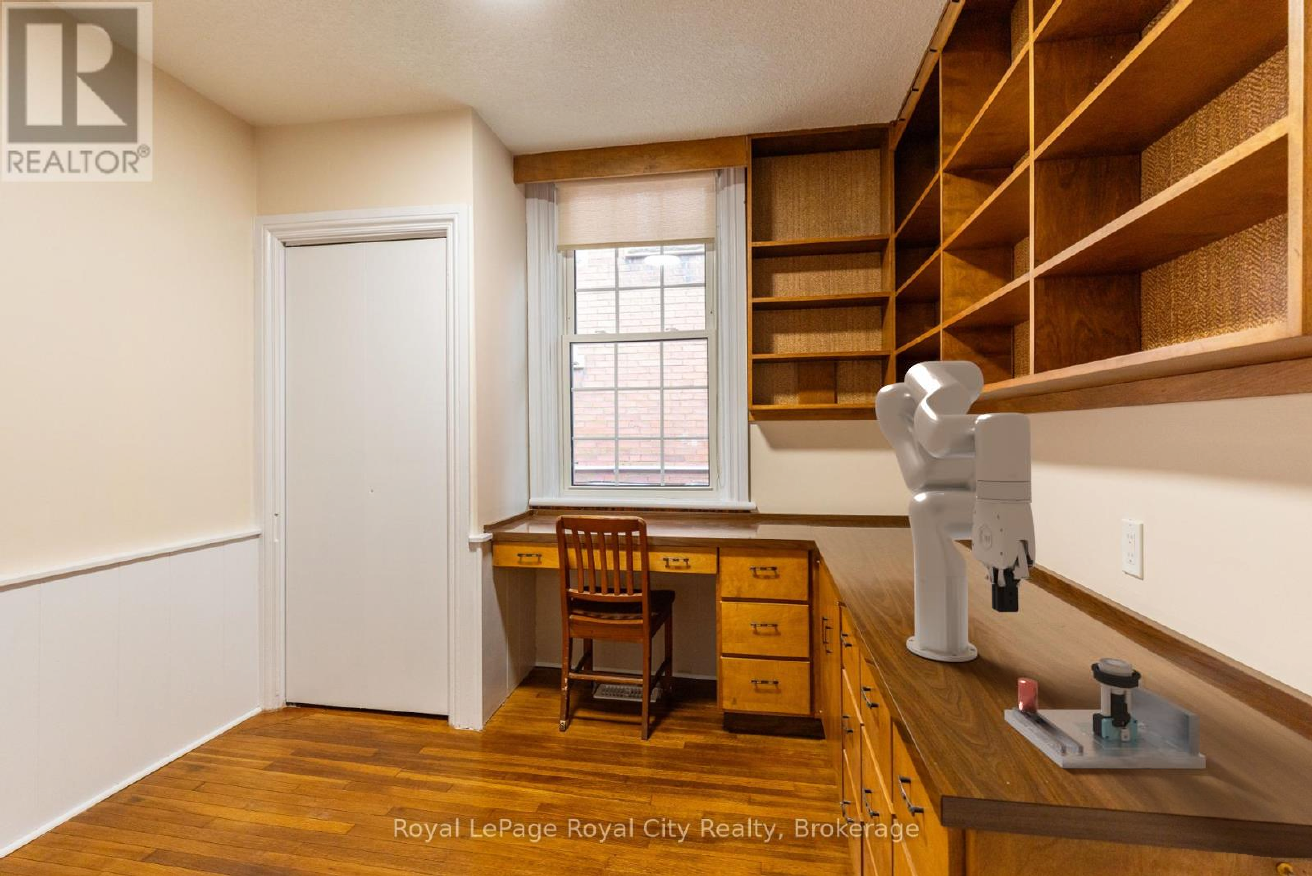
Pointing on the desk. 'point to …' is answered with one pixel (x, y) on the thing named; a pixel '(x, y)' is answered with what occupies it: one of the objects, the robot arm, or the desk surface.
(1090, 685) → the desk surface
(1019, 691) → the lever
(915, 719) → the desk surface
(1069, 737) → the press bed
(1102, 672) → the push button
